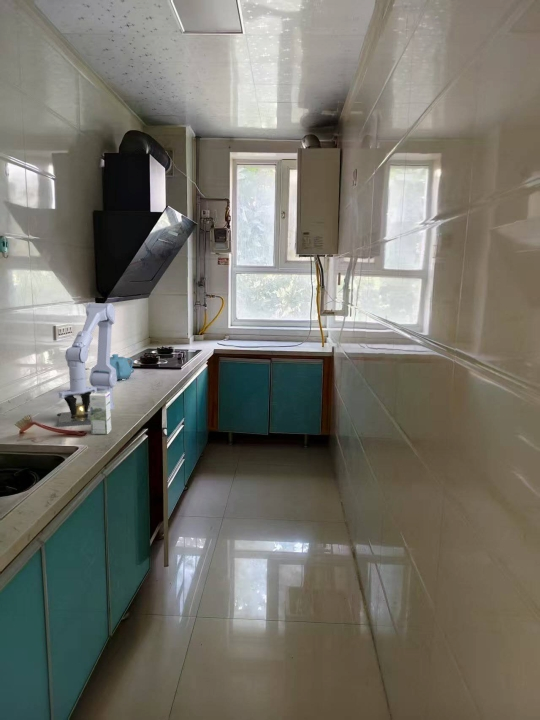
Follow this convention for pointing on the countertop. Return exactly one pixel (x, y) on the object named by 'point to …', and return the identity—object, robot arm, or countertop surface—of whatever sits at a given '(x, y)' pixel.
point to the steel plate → (74, 420)
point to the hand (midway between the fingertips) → (79, 413)
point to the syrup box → (100, 412)
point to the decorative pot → (121, 366)
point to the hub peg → (80, 411)
